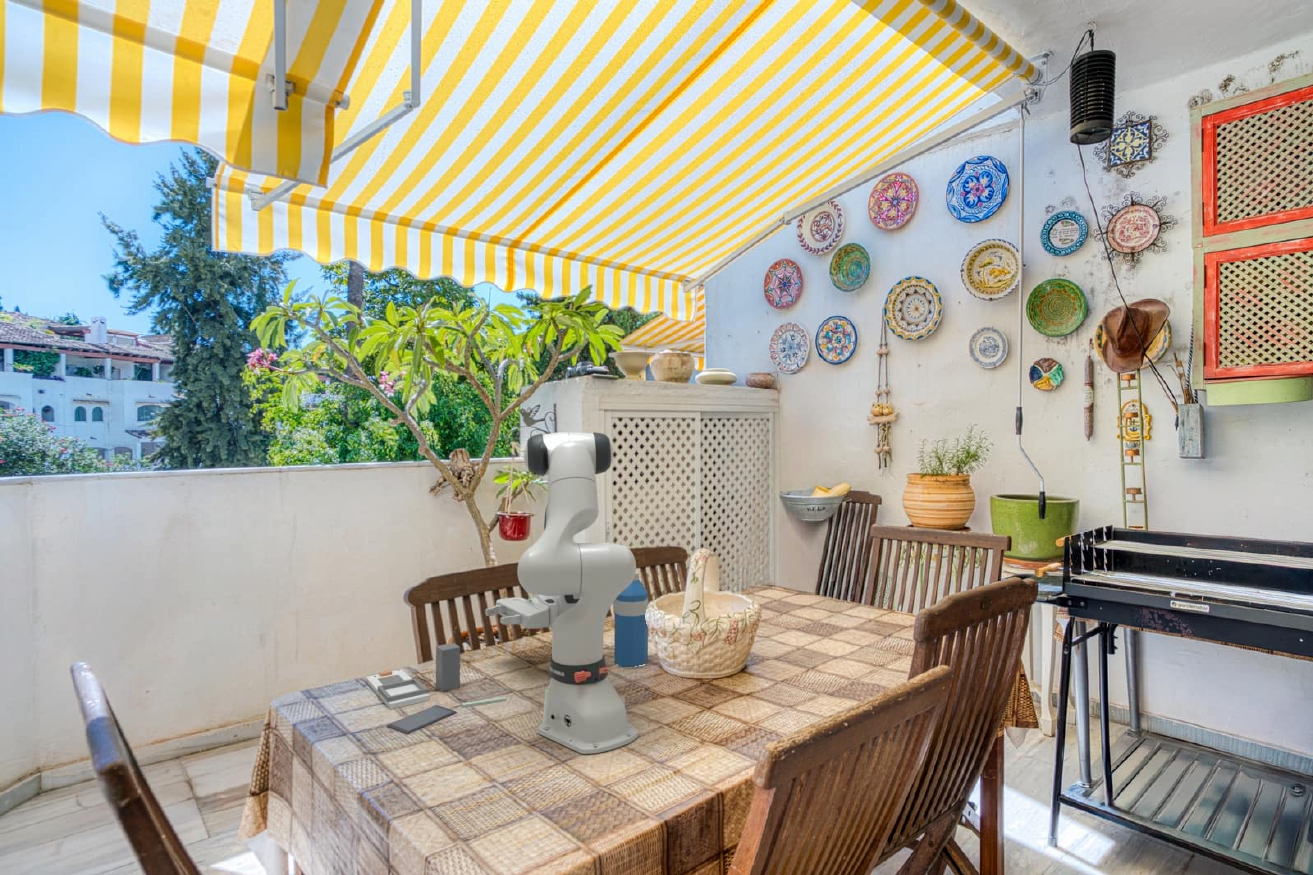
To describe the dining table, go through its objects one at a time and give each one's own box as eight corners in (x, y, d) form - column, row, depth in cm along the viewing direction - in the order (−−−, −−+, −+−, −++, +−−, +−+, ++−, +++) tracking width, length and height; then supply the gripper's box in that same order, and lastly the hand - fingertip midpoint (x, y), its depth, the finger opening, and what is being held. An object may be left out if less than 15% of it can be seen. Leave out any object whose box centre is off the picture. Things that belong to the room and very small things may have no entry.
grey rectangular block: (460, 687, 164) (460, 647, 164) (442, 691, 161) (442, 650, 161) (453, 682, 167) (453, 642, 167) (435, 686, 164) (436, 646, 165)
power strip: (429, 700, 155) (429, 690, 155) (390, 709, 150) (390, 699, 150) (402, 674, 173) (402, 665, 173) (365, 681, 167) (365, 673, 167)
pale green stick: (505, 701, 156) (505, 696, 156) (506, 702, 155) (506, 698, 155) (462, 707, 152) (462, 703, 152) (462, 709, 151) (462, 705, 151)
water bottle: (633, 670, 176) (633, 577, 176) (607, 663, 181) (607, 573, 182) (654, 661, 183) (654, 571, 183) (628, 654, 189) (629, 568, 189)
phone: (456, 715, 148) (456, 711, 148) (407, 737, 137) (407, 732, 137) (436, 708, 152) (436, 704, 152) (386, 729, 141) (386, 725, 141)
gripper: (524, 589, 188) (478, 596, 180) (559, 604, 172) (510, 613, 164) (524, 611, 188) (478, 619, 180) (559, 628, 172) (510, 638, 164)
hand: (493, 616), depth 172 cm, fingers open, 8 cm apart
